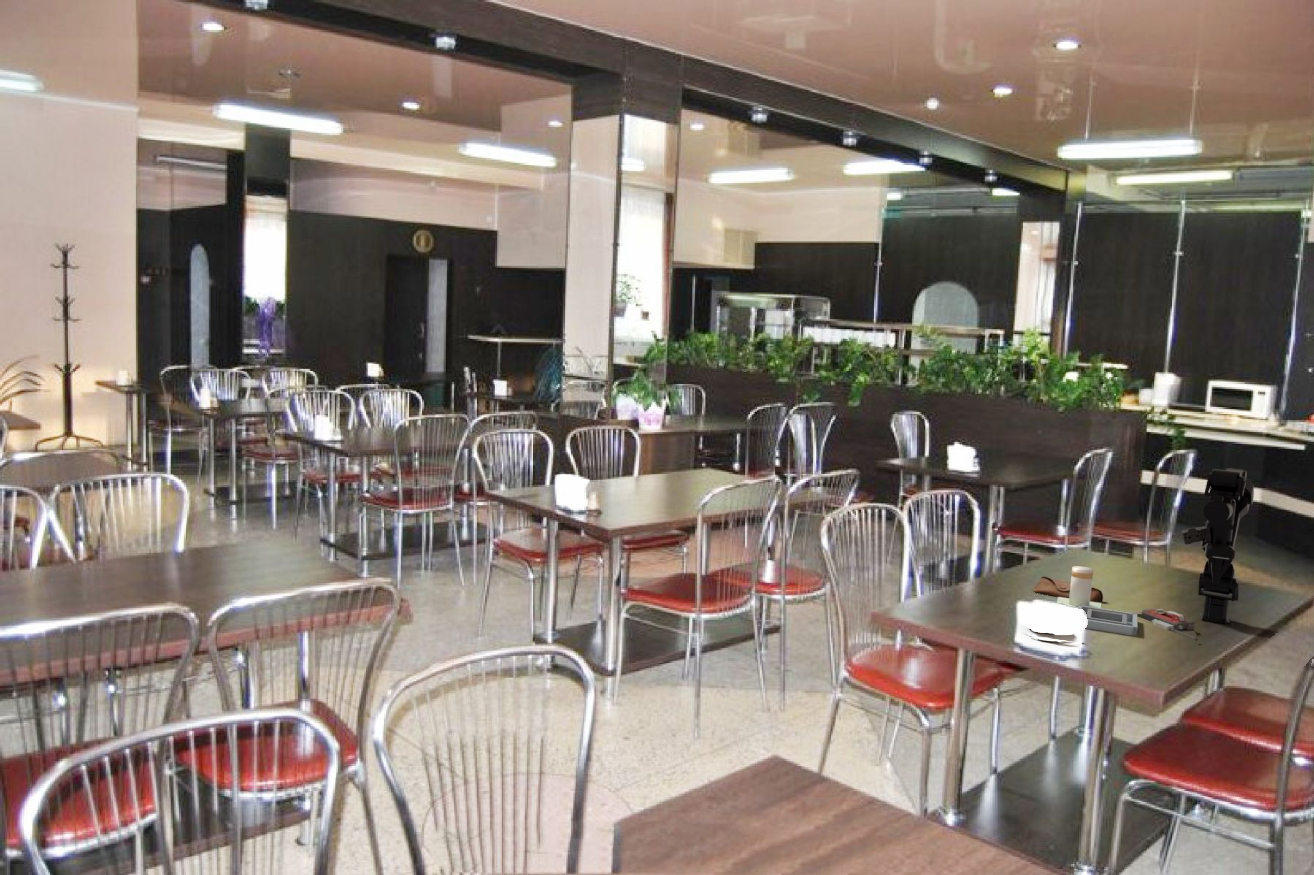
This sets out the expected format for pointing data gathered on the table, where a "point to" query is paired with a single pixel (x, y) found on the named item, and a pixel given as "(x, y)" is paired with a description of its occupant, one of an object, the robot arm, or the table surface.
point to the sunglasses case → (1062, 589)
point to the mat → (1066, 602)
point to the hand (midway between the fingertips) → (1213, 579)
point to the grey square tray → (1111, 620)
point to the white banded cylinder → (1080, 586)
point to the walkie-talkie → (1168, 620)
